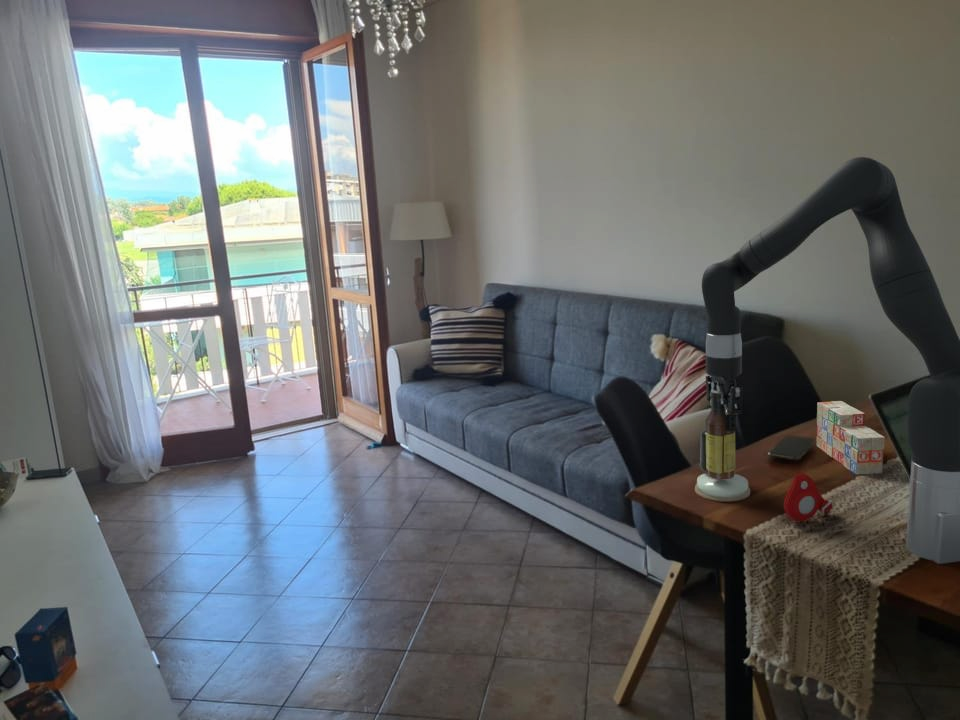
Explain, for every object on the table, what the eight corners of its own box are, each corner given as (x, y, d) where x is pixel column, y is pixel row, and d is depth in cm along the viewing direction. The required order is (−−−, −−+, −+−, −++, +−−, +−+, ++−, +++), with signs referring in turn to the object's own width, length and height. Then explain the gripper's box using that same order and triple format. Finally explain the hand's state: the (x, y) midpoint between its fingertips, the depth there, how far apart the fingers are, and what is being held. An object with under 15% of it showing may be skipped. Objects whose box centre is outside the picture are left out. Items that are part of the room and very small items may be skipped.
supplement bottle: (717, 476, 162) (719, 425, 160) (693, 468, 168) (694, 419, 165) (736, 469, 166) (738, 420, 163) (712, 462, 171) (713, 414, 169)
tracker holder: (789, 529, 142) (790, 482, 140) (775, 520, 147) (776, 474, 144) (840, 518, 145) (842, 472, 143) (824, 510, 150) (826, 465, 147)
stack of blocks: (883, 474, 166) (885, 424, 163) (855, 476, 166) (858, 426, 164) (839, 445, 187) (841, 399, 184) (815, 446, 187) (817, 401, 184)
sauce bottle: (732, 471, 164) (735, 387, 160) (737, 481, 158) (740, 394, 154) (702, 470, 165) (705, 387, 161) (706, 480, 159) (708, 393, 155)
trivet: (760, 498, 157) (760, 487, 157) (708, 504, 156) (708, 493, 156) (735, 478, 169) (735, 468, 168) (686, 484, 168) (686, 474, 167)
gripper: (755, 357, 149) (755, 434, 152) (725, 345, 163) (725, 416, 166) (721, 360, 148) (721, 437, 152) (694, 348, 162) (694, 419, 166)
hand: (723, 425), depth 159 cm, fingers closed on sauce bottle, 6 cm apart
